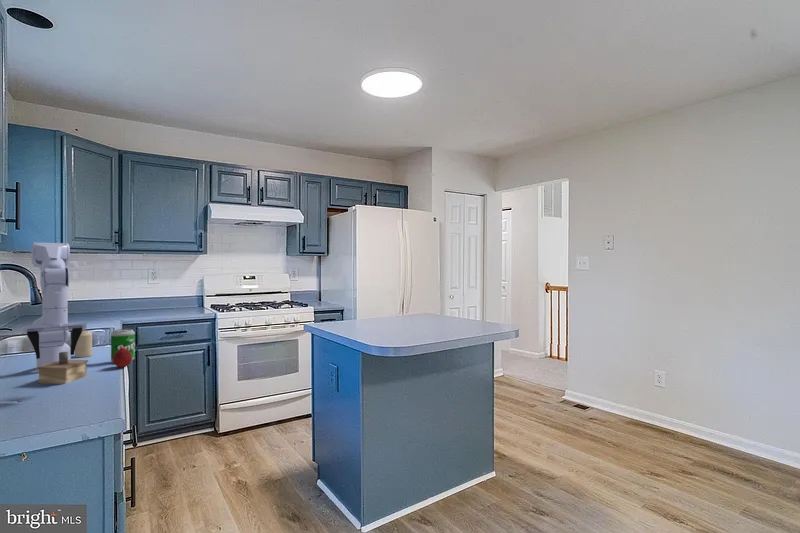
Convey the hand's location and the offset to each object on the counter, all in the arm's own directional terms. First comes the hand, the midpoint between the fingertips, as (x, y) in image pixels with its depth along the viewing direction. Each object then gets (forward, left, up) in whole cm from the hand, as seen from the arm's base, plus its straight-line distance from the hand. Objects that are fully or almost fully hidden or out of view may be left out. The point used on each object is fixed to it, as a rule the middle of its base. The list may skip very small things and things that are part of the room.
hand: (55, 356), depth 124 cm
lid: (-12, -7, -6) cm, 15 cm away
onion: (-28, +2, -11) cm, 30 cm away
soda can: (-38, -4, -11) cm, 40 cm away
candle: (-47, -25, -11) cm, 55 cm away
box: (-12, -7, -11) cm, 17 cm away
